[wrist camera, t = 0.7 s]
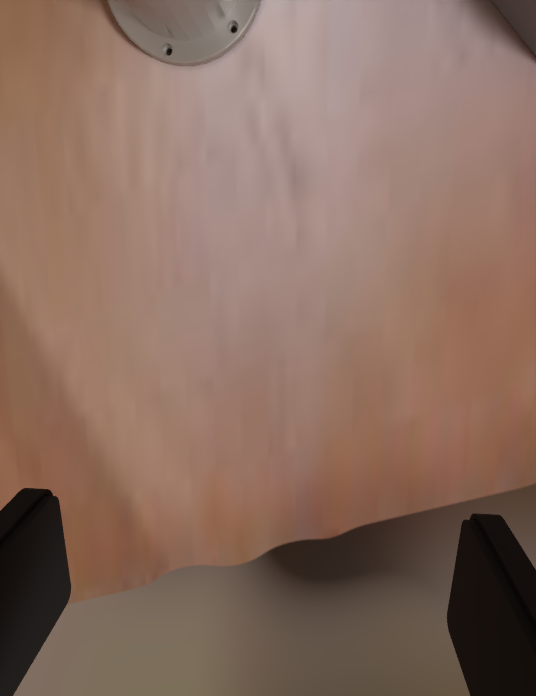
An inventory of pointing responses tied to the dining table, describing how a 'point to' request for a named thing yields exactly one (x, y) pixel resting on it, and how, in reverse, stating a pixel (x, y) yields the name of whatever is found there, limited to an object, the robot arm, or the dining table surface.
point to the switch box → (520, 18)
